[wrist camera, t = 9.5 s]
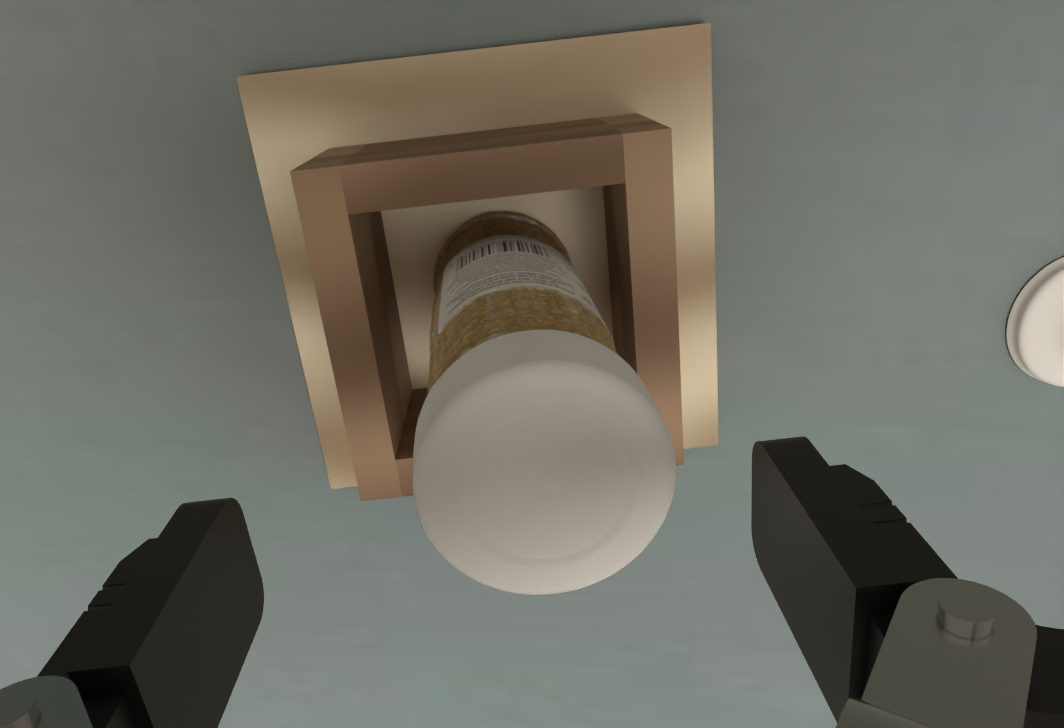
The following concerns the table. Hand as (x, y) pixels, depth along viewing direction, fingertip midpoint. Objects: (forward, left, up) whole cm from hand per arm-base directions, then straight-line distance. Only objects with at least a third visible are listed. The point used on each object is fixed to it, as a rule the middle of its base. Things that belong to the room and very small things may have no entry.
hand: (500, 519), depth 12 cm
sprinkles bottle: (0, 0, -14) cm, 14 cm away
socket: (0, 0, -15) cm, 15 cm away
